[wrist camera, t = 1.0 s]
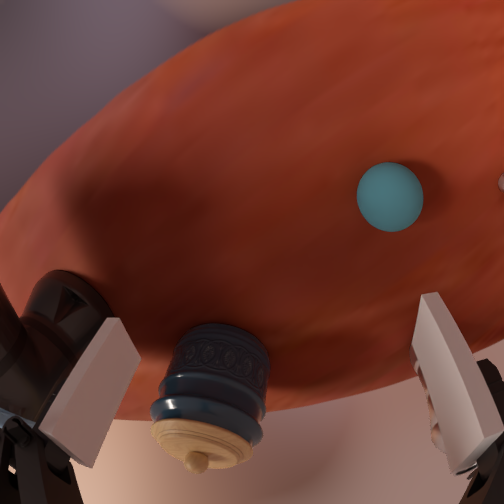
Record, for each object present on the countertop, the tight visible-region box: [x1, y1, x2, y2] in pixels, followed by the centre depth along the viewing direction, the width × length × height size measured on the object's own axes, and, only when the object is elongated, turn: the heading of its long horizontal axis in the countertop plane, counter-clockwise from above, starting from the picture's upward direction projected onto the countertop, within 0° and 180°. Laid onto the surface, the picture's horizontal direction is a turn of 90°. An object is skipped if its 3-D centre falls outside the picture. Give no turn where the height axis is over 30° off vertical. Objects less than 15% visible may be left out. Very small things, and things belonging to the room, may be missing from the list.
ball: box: [357, 162, 423, 232], centre depth 24 cm, size 6×6×6 cm
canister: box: [150, 323, 270, 474], centre depth 32 cm, size 13×13×18 cm
